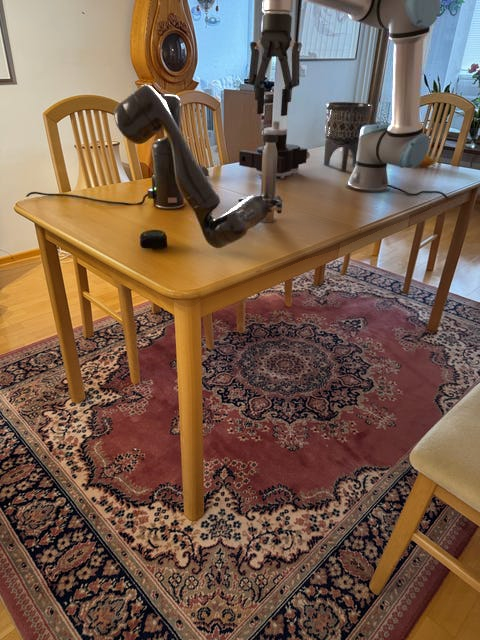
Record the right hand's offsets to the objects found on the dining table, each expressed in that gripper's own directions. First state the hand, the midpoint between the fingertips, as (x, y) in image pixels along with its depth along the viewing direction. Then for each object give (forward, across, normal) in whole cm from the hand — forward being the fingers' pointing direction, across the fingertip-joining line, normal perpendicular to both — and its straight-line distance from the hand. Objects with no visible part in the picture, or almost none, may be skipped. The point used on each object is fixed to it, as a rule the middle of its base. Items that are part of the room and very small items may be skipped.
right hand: (272, 114), depth 125 cm
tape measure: (+30, +15, +36) cm, 50 cm away
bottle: (+30, 0, 0) cm, 30 cm away
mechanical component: (+30, +22, -62) cm, 73 cm away
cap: (+5, 0, 0) cm, 5 cm away
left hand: (+24, 0, -3) cm, 24 cm away
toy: (+30, -28, -113) cm, 120 cm away
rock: (+30, +48, -33) cm, 65 cm away
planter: (+30, +3, -90) cm, 95 cm away
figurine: (+30, +9, -124) cm, 128 cm away
